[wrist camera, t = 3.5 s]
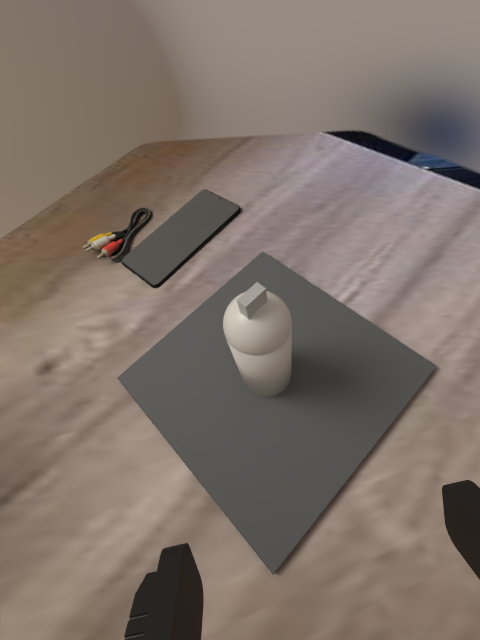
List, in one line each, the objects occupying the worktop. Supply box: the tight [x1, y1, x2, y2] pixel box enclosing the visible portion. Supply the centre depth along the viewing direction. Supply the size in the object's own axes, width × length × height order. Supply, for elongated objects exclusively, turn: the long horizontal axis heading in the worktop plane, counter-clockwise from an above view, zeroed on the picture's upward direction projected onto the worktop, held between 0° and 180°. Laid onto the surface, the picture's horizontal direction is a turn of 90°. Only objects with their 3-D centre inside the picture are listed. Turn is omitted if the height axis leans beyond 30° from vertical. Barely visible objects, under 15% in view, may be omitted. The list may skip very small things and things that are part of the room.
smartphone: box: [121, 190, 241, 288], centre depth 39 cm, size 7×1×15 cm
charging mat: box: [117, 252, 436, 574], centre depth 28 cm, size 20×20×1 cm
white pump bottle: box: [223, 282, 292, 397], centre depth 23 cm, size 4×4×12 cm
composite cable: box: [83, 208, 151, 262], centre depth 39 cm, size 10×5×2 cm, turn 141°
